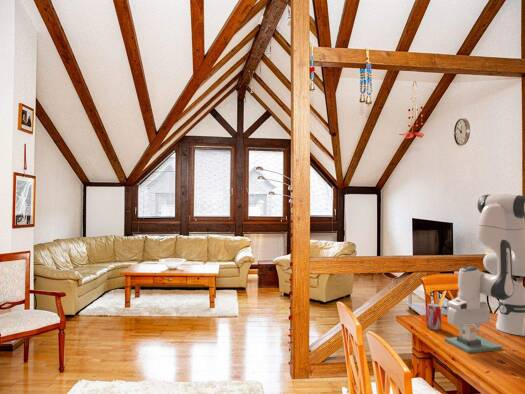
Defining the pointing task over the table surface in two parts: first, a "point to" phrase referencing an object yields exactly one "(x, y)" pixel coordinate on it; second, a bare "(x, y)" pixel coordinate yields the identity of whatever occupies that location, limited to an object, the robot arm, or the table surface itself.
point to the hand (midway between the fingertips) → (468, 333)
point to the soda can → (433, 316)
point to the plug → (469, 332)
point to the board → (473, 344)
